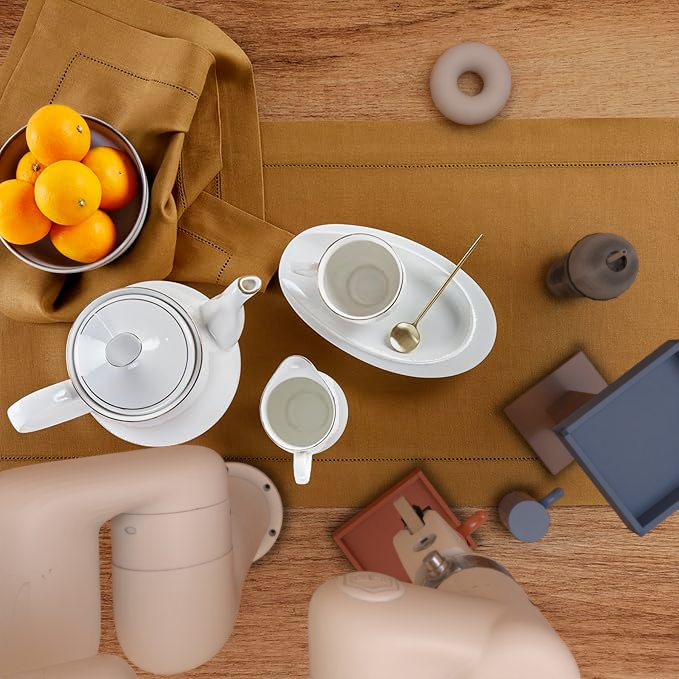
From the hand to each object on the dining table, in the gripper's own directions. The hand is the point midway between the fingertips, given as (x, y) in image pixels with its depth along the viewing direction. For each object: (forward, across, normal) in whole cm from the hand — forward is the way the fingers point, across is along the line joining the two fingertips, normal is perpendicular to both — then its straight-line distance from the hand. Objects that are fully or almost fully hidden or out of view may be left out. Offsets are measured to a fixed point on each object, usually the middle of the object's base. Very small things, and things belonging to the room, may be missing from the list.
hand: (435, 539), depth 65 cm
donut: (+15, -36, +37) cm, 54 cm away
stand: (+15, +2, +21) cm, 26 cm away
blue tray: (-7, +2, +21) cm, 22 cm away
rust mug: (0, 0, +2) cm, 2 cm away
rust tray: (+15, +2, -4) cm, 16 cm away
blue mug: (+15, +8, +11) cm, 20 cm away
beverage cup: (+15, -10, +32) cm, 36 cm away
